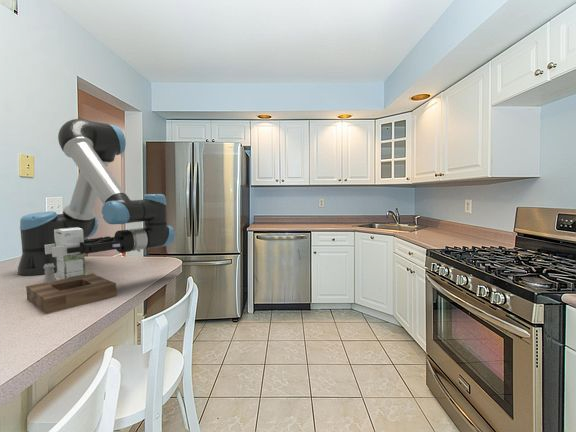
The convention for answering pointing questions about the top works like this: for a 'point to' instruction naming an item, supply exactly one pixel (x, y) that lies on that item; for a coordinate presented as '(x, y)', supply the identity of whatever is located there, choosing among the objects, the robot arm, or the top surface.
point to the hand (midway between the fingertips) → (49, 250)
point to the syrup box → (69, 263)
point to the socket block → (70, 292)
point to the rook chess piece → (49, 272)
